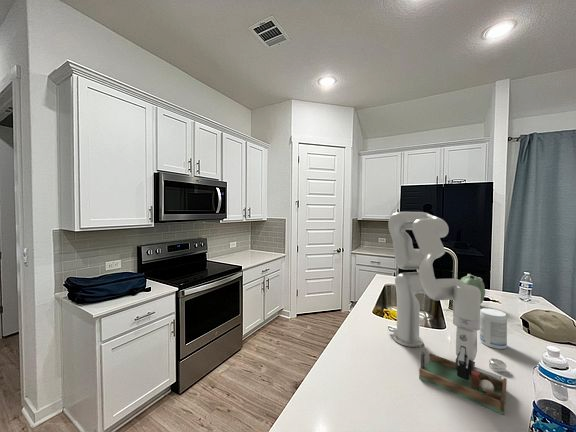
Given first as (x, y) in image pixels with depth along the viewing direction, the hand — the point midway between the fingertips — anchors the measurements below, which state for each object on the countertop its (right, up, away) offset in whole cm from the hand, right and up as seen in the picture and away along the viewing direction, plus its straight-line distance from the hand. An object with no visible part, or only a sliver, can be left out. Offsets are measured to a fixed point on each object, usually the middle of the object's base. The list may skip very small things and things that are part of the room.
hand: (465, 371), depth 85 cm
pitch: (-1, -5, +1) cm, 5 cm away
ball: (+4, -2, -4) cm, 6 cm away
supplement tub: (+32, -5, +27) cm, 43 cm away
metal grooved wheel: (+19, -5, +9) cm, 22 cm away
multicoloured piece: (+3, -4, -2) cm, 5 cm away
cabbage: (+54, -4, +73) cm, 91 cm away
